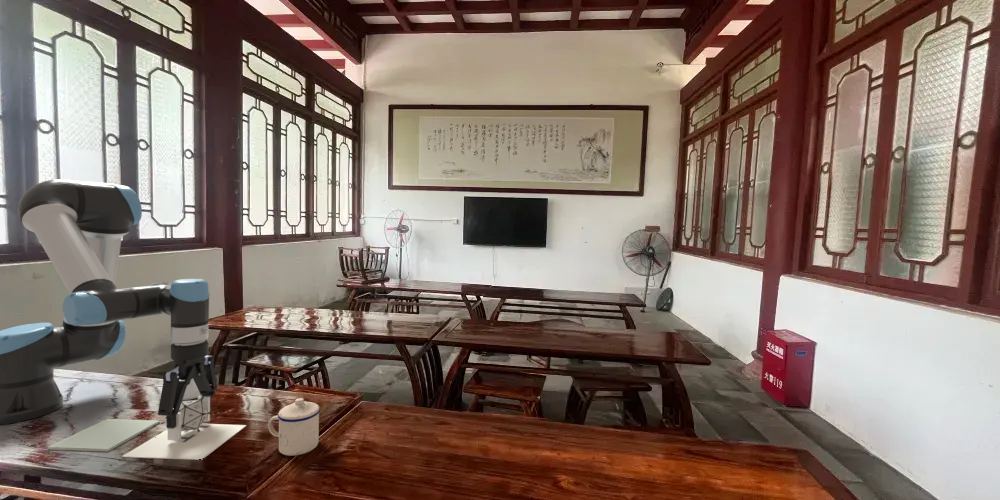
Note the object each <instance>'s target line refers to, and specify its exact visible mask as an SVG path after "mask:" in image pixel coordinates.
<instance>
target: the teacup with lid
mask: <svg viewBox="0 0 1000 500" xmlns="http://www.w3.org/2000/svg"><path fill="white" fill-rule="evenodd" d="M320 412H321V408H320V406H319V404H317V403H315V402H311V401H306V400H305V399H304V397H299V398H296V399H295V400H294V402H293V403H291V404H288V405H285V406H283V407H282V408H281V409H280V410H279V412H278V414H277V415H273V416H272V417H271V418H270V419H269V420H268V422H267V428H268V431H269V433H270V434H271V435H272V436H274V437H278V452H279V453H280V454H282V455H284V456H289V457H290V456H300V455H304V454H307V453H309V452H311V451H313V450H314V449H315V448H317V446H318V445H319V441H320V440H319V435H320V434H319V433H320V430H319V428H320V427H319V426H320V425H319V424H320V421H319V420H320V417H319V416H320ZM276 420H278V431H277V430H276V428H275V427H274V422H273V421H276Z"/></svg>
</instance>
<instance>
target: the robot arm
mask: <svg viewBox="0 0 1000 500" xmlns="http://www.w3.org/2000/svg"><path fill="white" fill-rule="evenodd" d="M17 214H18V218H19V220H20V222H21V223H22V225H23V227H24V228H25V229H26V230H28V231H30V232H32V233H34V234H35V236H36V238H37V239H38V242H39V243H40V245H41V246H42V248H43V250H44V251H45V254H46V255H47V257H48V259H49V260H50V262H51V264H52V265H53V267H54V269H55V271H56V273H57V274H58V276H59V278H60V279H61V281H62V282H63V285H64V286H65V288H66V289H67V291H68V294H66V296H65V297H64V298H63V301H62V312H63V316H64V317H63V321H62V324H61V325H57V326H54V325H53V324H52V323H51V322H36V323H28V324H21V325H16V326H13V327H9V328H5V329H2V330H0V425H8V424H13V423H18V422H23V421H28V420H32V419H36V418H39V417H42V416H46V415H48V414H51V413H53V412H55V411H57V410H60V408H62V407H63V406H64V395H63V394H62V393H61V391H60V389H59V387H58V384H57V383H56V381H55V379H54V370H55V368H56V369H57V368H62V367H66V366H71V365H75V364H80V363H81V364H82V363H85V362H91V361H97V360H101V359H104V358H107V357H111V356H114V355H115V354H117V353H119V351H120V350H121V349H122V348H123V346H124V344H125V341H126V336H127V334H126V333H127V331H126V324H125V322H124V320H131V319H137V318H145V317H151V316H158V315H169V316H170V339H169V340H170V342H171V343H172V344H171V345H170V359H171V360H173V362H174V366H173V368H172V369H171V370H170V371H164V372H163V373H162V381H163V382H162V388H161V395H160V399H159V403H158V404H159V405H158V412H157V415H158V416H164V417H166V418H165V420H166V422H165V423H166V425H165V426H166V429H168V440H178V441H179V440H180V439H181V413H180V412H179V409H180V406H181V403H182V399H183V396H184V393H185V390H186V387H187V385H189V384H190V382H191V379H193V380H194V382H195V384H196V386H197V388H198V390H199V392H200V394H201V395H202V396H199V397H197V400H200V399H201V398H202V397H204V399H203V400H202V401H203V403H204V405H205V407H206V409H207V411H208V412H211V402H212V401H211V396H215V394H216V390H217V389H218V384H217V383H218V382H217V377H216V372H215V365H214V362H215V357H214V355H208V354H209V350H210V348H209V346H210V344H209V343H210V342H209V340H208V338H209V316H210V312H209V311H210V292H209V290H210V289H209V282H208V281H207V280H205V279H204V278H202V279H201V278H181V279H176V280H173V281H172V282H171V283H168V282H153V283H150V284H148V285H141V286H133V287H130V286H129V287H120V288H119V287H117V286H116V283H117V275H118V270H119V269H118V268H119V267H118V266H119V261H120V253H121V246H122V245H121V244H122V238H123V237H124V236H127V234H128V235H129V233H130V230H131V229H130V228H131V226H135V225H138V224H139V223H140V221H141V220H142V217H143V207H142V203H141V200H140V197H139V196H138V194H137V193H136V191H135V190H134V189H133V188H131V187H129V186H127V185H122V184H115V183H112V182H111V183H109V182H96V181H83V180H71V179H64V178H63V179H61V178H60V179H59V178H57V179H55V178H54V179H50V180H49V179H48V180H46V181H41V182H39V183H37V184H35V185H33V186H31V187H30V188H28V190H26V191H25V192H24V193H23V194H22V196H21V198H20V199H19V202H18V205H17ZM179 380H185V381H179ZM210 421H211V414H208V415H207V417H206V418H205V420H204V421H203V422H204V423H207V422H210Z"/></svg>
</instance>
